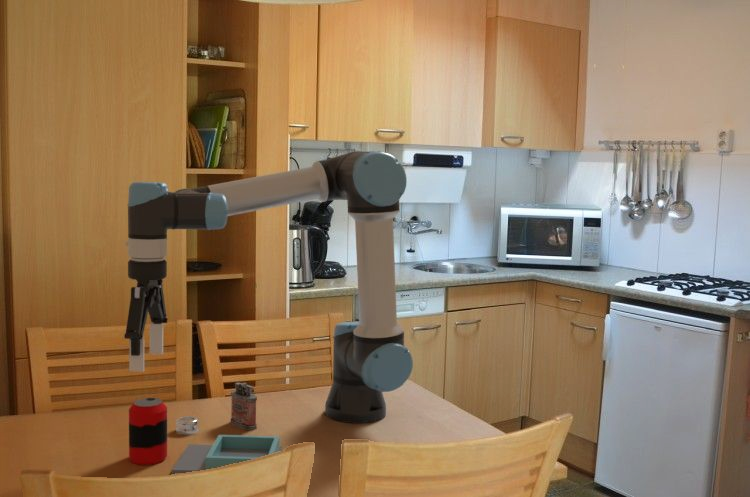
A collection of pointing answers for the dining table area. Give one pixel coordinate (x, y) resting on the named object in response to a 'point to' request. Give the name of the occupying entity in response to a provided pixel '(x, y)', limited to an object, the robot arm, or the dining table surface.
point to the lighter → (243, 407)
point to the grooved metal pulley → (187, 425)
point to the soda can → (147, 431)
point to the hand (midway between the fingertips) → (146, 362)
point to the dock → (226, 452)
